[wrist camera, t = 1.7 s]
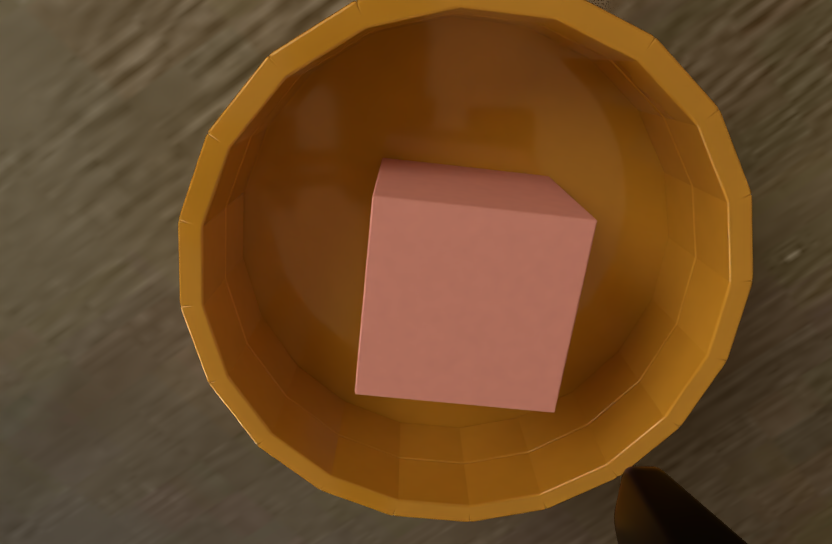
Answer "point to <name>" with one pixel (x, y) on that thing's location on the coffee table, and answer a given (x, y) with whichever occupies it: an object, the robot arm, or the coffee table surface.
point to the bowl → (477, 148)
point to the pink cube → (470, 286)
